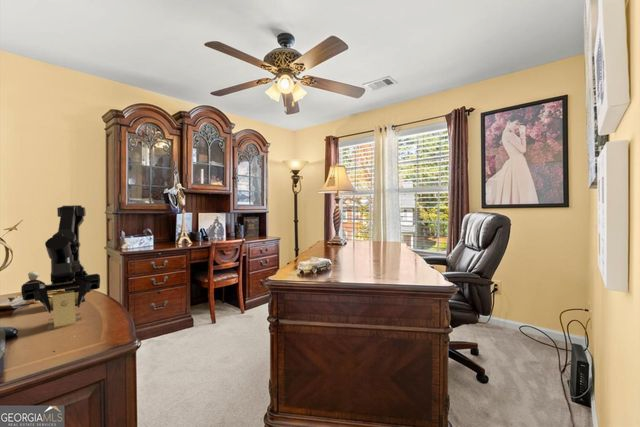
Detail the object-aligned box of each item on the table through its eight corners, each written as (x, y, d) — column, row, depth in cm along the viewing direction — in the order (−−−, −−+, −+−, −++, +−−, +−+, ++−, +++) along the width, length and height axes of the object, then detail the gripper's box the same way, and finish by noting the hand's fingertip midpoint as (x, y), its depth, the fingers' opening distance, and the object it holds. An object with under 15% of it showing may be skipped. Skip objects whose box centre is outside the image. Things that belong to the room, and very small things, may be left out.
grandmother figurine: (19, 305, 115) (18, 273, 115) (23, 303, 118) (21, 271, 118) (46, 302, 119) (44, 271, 118) (48, 299, 122) (47, 269, 122)
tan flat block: (48, 323, 96) (47, 319, 96) (81, 317, 102) (81, 312, 102) (46, 336, 87) (46, 331, 87) (83, 328, 92) (82, 323, 92)
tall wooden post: (54, 325, 91) (52, 293, 91) (75, 320, 94) (74, 290, 94) (54, 328, 89) (52, 295, 88) (75, 324, 92) (74, 292, 92)
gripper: (20, 257, 88) (18, 302, 80) (98, 249, 100) (103, 288, 92) (24, 278, 94) (22, 322, 86) (97, 269, 106) (101, 307, 98)
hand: (64, 309), depth 90 cm, fingers open, 6 cm apart
